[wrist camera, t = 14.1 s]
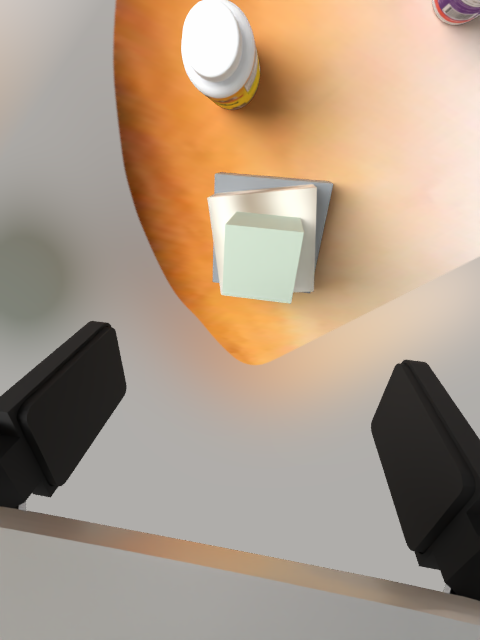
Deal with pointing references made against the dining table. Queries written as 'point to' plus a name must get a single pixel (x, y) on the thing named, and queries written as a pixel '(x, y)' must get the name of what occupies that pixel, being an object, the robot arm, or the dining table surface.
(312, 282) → the top block
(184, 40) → the supplement bottle
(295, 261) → the sage block
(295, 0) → the dining table surface
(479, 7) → the pill bottle
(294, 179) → the base block
